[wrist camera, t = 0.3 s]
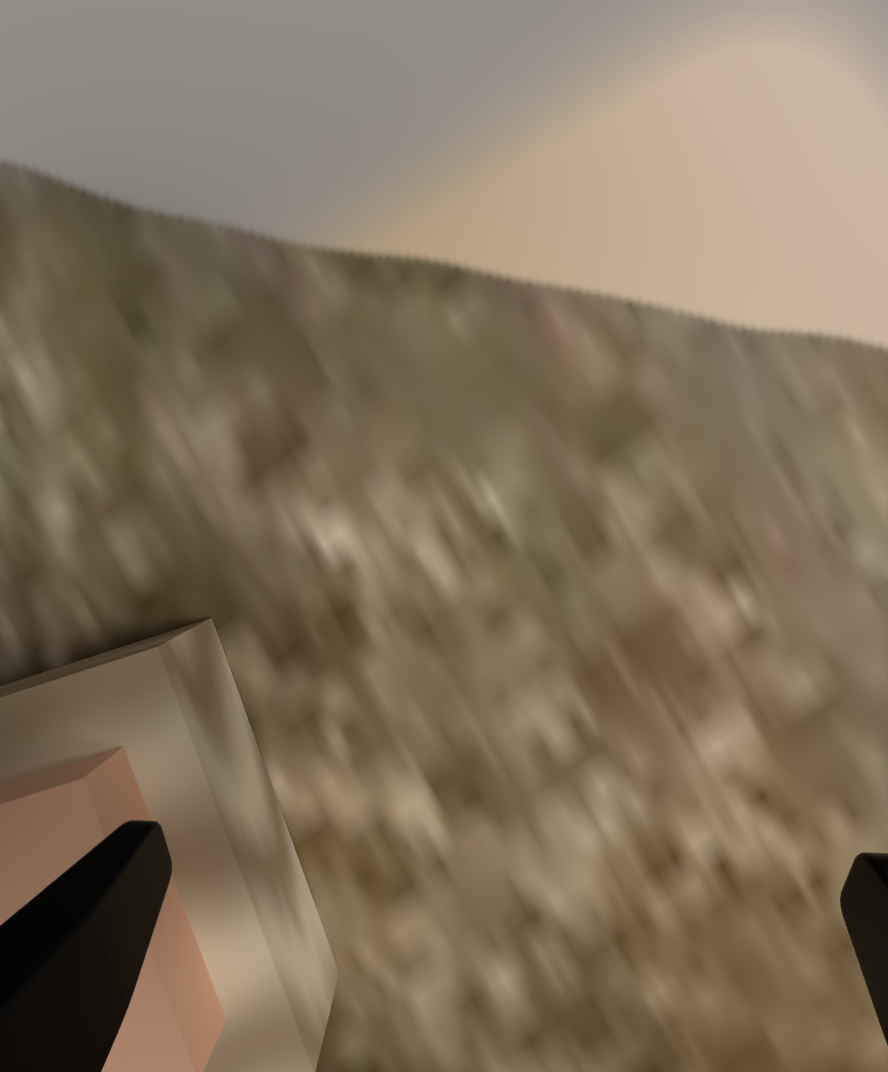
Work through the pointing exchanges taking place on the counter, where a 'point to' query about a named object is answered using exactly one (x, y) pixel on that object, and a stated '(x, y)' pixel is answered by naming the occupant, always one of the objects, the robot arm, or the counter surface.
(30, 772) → the board
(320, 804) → the counter surface
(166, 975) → the tile
